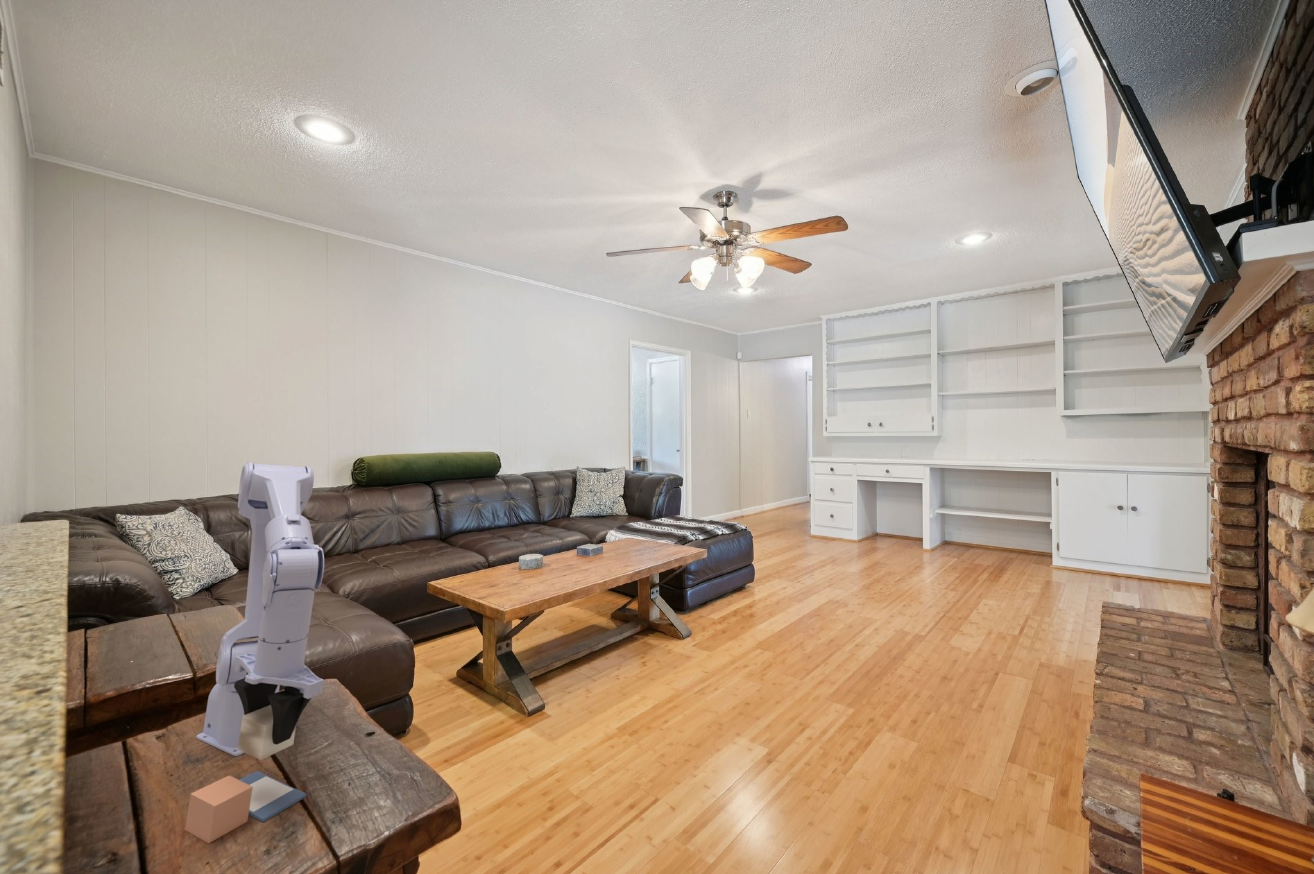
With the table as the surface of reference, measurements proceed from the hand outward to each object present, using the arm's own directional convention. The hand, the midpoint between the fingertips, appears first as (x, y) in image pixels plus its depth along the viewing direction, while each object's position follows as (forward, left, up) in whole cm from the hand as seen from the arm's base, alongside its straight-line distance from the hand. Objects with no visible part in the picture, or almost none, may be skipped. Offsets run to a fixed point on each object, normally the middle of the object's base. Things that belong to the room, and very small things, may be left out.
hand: (268, 735), depth 75 cm
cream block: (0, 0, -2) cm, 2 cm away
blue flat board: (0, 0, -8) cm, 8 cm away
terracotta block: (+1, -6, -8) cm, 10 cm away
